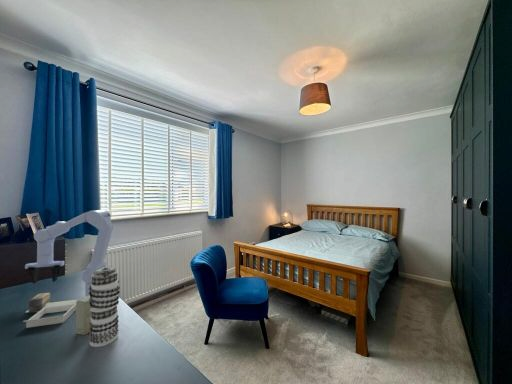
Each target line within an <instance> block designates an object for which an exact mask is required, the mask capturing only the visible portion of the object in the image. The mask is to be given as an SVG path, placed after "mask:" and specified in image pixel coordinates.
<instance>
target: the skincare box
mask: <svg viewBox="0 0 512 384" xmlns="http://www.w3.org/2000/svg"><path fill="white" fill-rule="evenodd" d="M89 298H90V295H88V296H86V297H85V296H84V297H82V298H79V300H77V299H76V300H77V301H76V310H75V334H77V335H84V336H85V335H86V334H88V333H90V323H91V317H92V311H91V310H90V308H91V306H90V304H89V303H90V300H89Z"/></svg>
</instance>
